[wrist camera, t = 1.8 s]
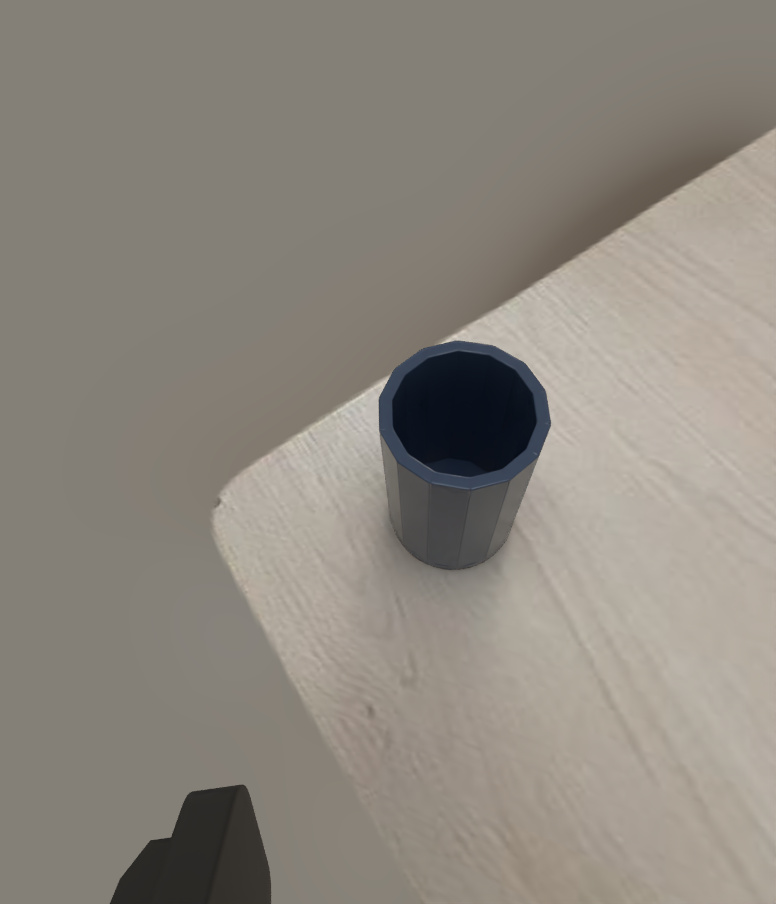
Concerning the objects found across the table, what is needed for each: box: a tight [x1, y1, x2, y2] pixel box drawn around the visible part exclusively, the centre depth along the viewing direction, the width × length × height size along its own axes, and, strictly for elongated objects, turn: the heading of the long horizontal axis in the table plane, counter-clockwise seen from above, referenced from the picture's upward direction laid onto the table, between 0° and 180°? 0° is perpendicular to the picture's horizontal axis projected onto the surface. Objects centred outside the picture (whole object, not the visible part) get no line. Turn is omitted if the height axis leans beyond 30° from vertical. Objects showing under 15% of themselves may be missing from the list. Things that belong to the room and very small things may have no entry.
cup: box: [379, 341, 551, 569], centre depth 24 cm, size 6×6×9 cm
